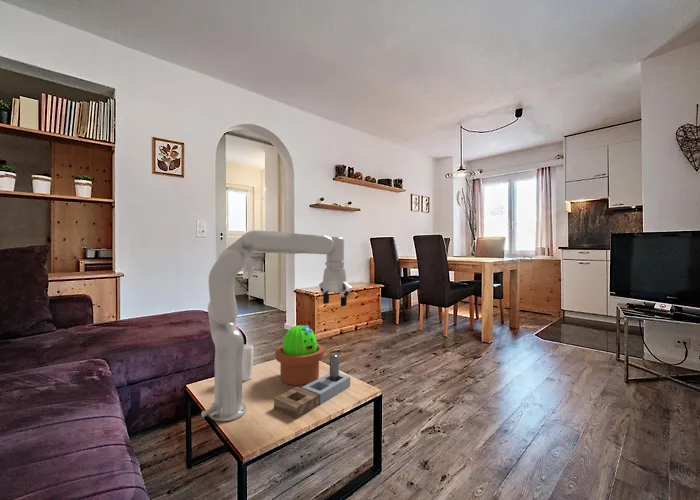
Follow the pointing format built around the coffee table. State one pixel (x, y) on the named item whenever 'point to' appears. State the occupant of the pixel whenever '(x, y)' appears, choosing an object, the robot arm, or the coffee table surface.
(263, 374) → the coffee table surface
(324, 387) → the peg rack
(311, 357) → the potted cactus
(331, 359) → the metal peg
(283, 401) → the socket block
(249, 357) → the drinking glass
